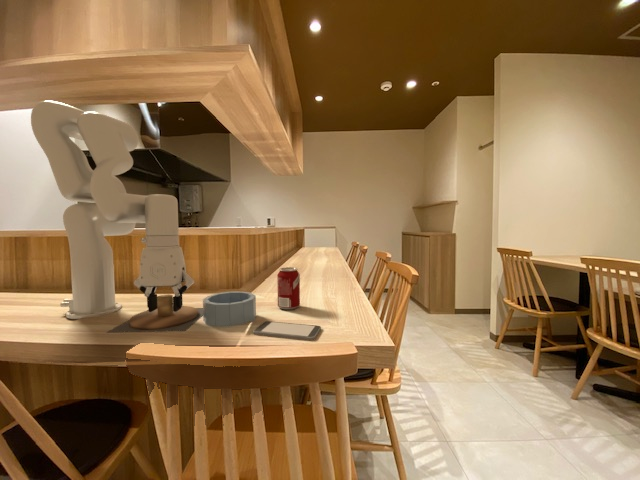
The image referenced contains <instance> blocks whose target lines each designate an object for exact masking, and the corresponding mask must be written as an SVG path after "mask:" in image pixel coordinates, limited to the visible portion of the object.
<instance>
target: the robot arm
mask: <svg viewBox="0 0 640 480" xmlns="http://www.w3.org/2000/svg"><path fill="white" fill-rule="evenodd" d="M30 113H31V114H30V124H31V130H32V132H33V133H32V134H33V135H34V137H35V139H36V141H37V143H38V145H39V146H40V148H41V149H42V151H43V153H44V154H45V157H46V158H47V160H48V163H49V167H50V169H51V172H52V174H53V177H54V180H55V182H56V183H55V184H56V185H57V188H58V190H59V192H60V194H61V195H62V196H63V198H65V199H66V200H68V201H72V202H78V203H74V204H71V205H70V206H68V207H66V209H65V210H64V212H63V214H62V221H63V225H64V229H65V232H66V235H67V241H68V245H69V246H68V247H69V255H70V256H69V257H70V271H71V272H70V274H71V276H70V277H71V291H72V292H71V293H72V298H64V299H63V301H61V303H60V307H63V308H67V307H68V311H66V313H65V318H67V319H71V320H80V319H85V318H93V317H99V316H104V315H107V314H111V313H114V312H117V311H119V310H121V309H122V308H123V304H122V303H120V302H116V291H115V290H116V289H115V286H116V285H115V267H114V251H113V248H112V246H111V244H110V242H109V241H108V240H107V239H106V238H105V237H107V236H108V237H111V236H116V237H117V236H125V235H129V234H131V233H132V232H133V231H134V229H135V228H136V224H145V226H144V227H145V228H144V229H145V236H144V237H142V238H141V240H140V242H141V243H142V244H145V247H143V248H142V251H141V256H140V259H139V260H140V262H139V276H138V277H136V279H135V280H134V281H133V285H134V286H135V287H136V288H138V289H139V290H140V292H142V293H143V294H144V297H146V302H147V304H146V306H147V310H148V311H149V312H152V311H154V310H156V309H157V297H158V295H157V293H156V290H157V288H160V287H161V288H163V287H164V288H165V287H168V288H170V287H171V289H172V291H173V293H174V295H173V311H174V312H176V311H178V310H179V309H181V307H182V306H184V305H183V294H184V293H185V292H186V291H187V290H188V289H189V288H190V287H191V286H192V285H193V284H195V280H194V279H193V277H191V276H190V275H189V274H188V273H187V270H186V268H187V267H186V259H185V256H184V252H183V248H182V246H180V233H179V202H178V199H177V198H176V197H175V196H174V195H172V194H171V195H170V194H165V193H163V194H161V193H160V194H159V193H155V194H154V193H153V194H147V195H142V194H134V193H127V190H126V187H125V185H124V183H123V182H122V181H121V180H120V179H119V177H117V176H119V175H122V174H124V173H126V172H127V171H130V170H131V168H133V165H134V159H133V157H132V155H131V152H133V151H134V150H135V149H136V148H137V147H138V144H139V135H138V133H137V131H136V129H135V127H133V126H132V125H131V124H130V123H128V122H125V121H123V120H120V119H118V118H115V117H111V116H110V115H107V114H104V113H101V112H96V111H85V110H82V109H80V108H77V107H74V106H72V105H69V104H65V103H63V102H59V101H54V100H41V101H39V102H37V103H35V104H34V106H33V107H32V110H31V112H30ZM71 138H73V139H76V140H80V141H83V142H84V144H85V146H86V147H87V149H88V151H89V154H90V156H91V158H92V160H93V161H94V163H95V166H96V167H95V168H94V169H92V167H91V166H90V164H89V163H90V162H89V160H88V158H87V156H86V154H85V153H84V151H83V150H82V149H81V148H80V147H79V146H78V145H77V144H76V143H75V142H74V141H73V140H72V139H71ZM183 283H185V284H183ZM182 284H183V285H182Z"/></svg>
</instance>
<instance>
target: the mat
mask: <svg viewBox="0 0 640 480" xmlns="http://www.w3.org/2000/svg"><path fill="white" fill-rule="evenodd" d="M196 308H197V309H198V317H197V318H195V319H194V320H192V321H190V322H188V323H185V324H182V325H178V326H174V327H170V328H164V329H155V330H140V329H134V328H132V327H130V326H129V319H128V320H126V321H125V322H123V323H120V324H119V325H117V326H115V327H113V328H111V329H110V330H108V331H106V332H105V333H107V334H108V333H109V334H110V333H152V332H154V333H157V332H160V333H161V332H187V330H188V329H190V328H191V327H192V326H193V325H194V324H195V323H196V322H198V321H199V320H200V319H201V318H203V307H196Z"/></svg>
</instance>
